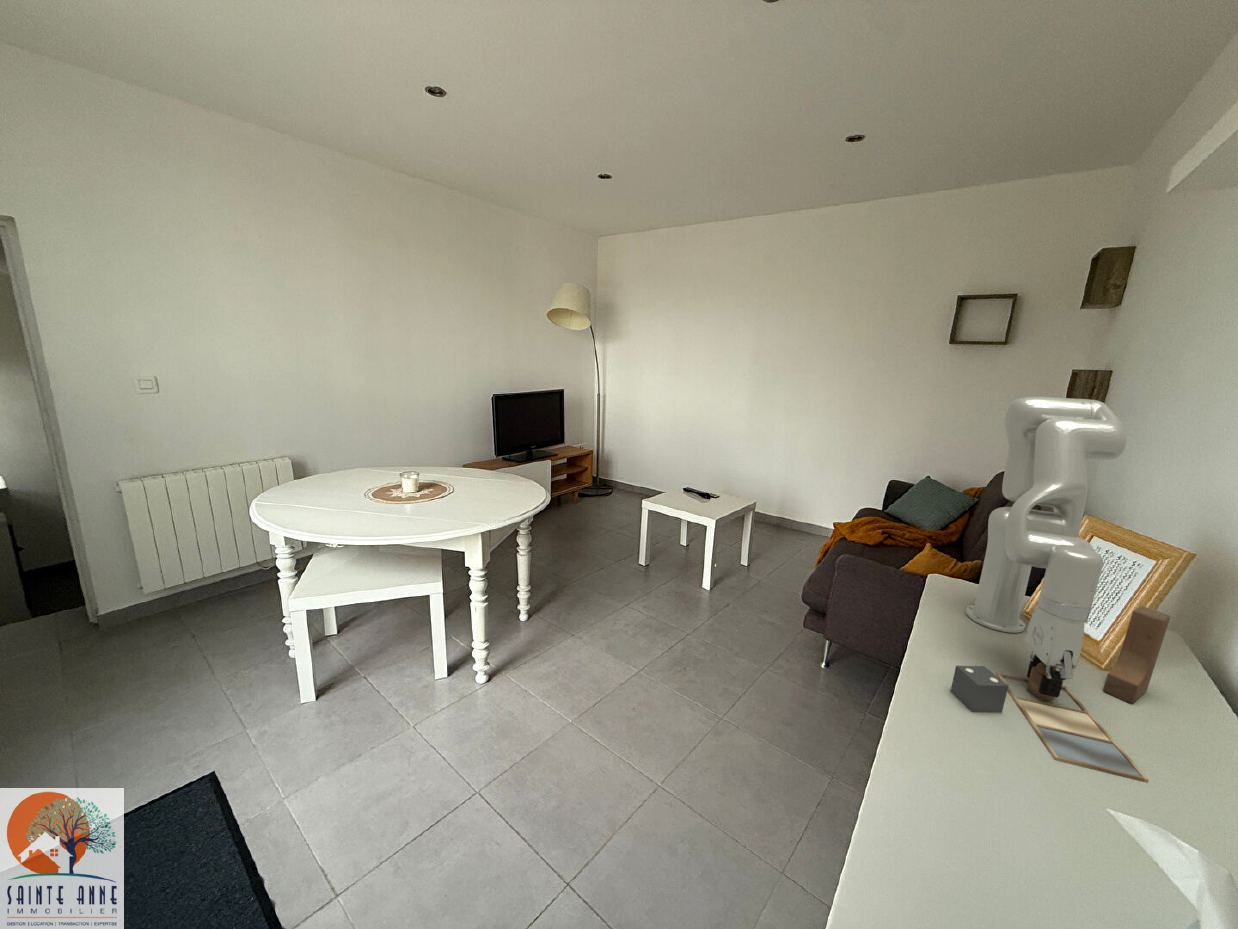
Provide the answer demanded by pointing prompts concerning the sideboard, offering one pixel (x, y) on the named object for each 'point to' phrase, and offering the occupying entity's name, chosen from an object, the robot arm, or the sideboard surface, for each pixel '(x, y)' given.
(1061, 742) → the board
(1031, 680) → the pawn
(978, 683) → the die
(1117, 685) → the wooden block
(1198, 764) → the sideboard surface
